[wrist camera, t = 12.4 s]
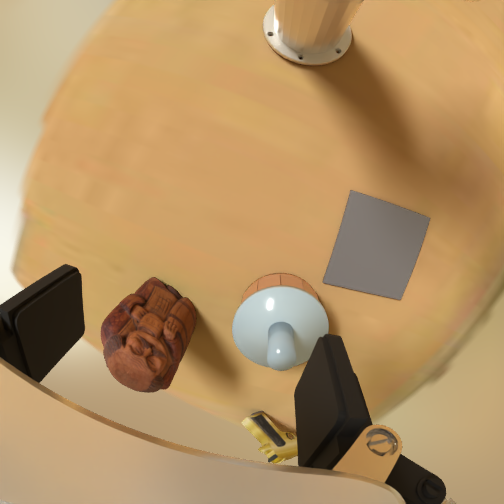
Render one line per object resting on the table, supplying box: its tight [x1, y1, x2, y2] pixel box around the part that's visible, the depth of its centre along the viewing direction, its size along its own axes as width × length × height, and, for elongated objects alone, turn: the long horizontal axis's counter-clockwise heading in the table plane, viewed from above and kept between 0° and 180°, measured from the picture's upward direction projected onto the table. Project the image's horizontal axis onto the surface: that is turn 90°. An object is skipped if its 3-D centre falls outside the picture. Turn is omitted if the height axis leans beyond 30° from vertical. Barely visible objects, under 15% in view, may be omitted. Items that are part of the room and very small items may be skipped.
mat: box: [323, 190, 430, 300], centre depth 39 cm, size 14×14×1 cm
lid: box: [232, 285, 329, 371], centre depth 34 cm, size 13×13×7 cm
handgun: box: [241, 411, 298, 464], centre depth 49 cm, size 2×19×12 cm
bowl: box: [241, 273, 319, 303], centre depth 40 cm, size 12×12×6 cm
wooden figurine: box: [101, 277, 196, 392], centre depth 35 cm, size 12×6×18 cm, turn 50°
